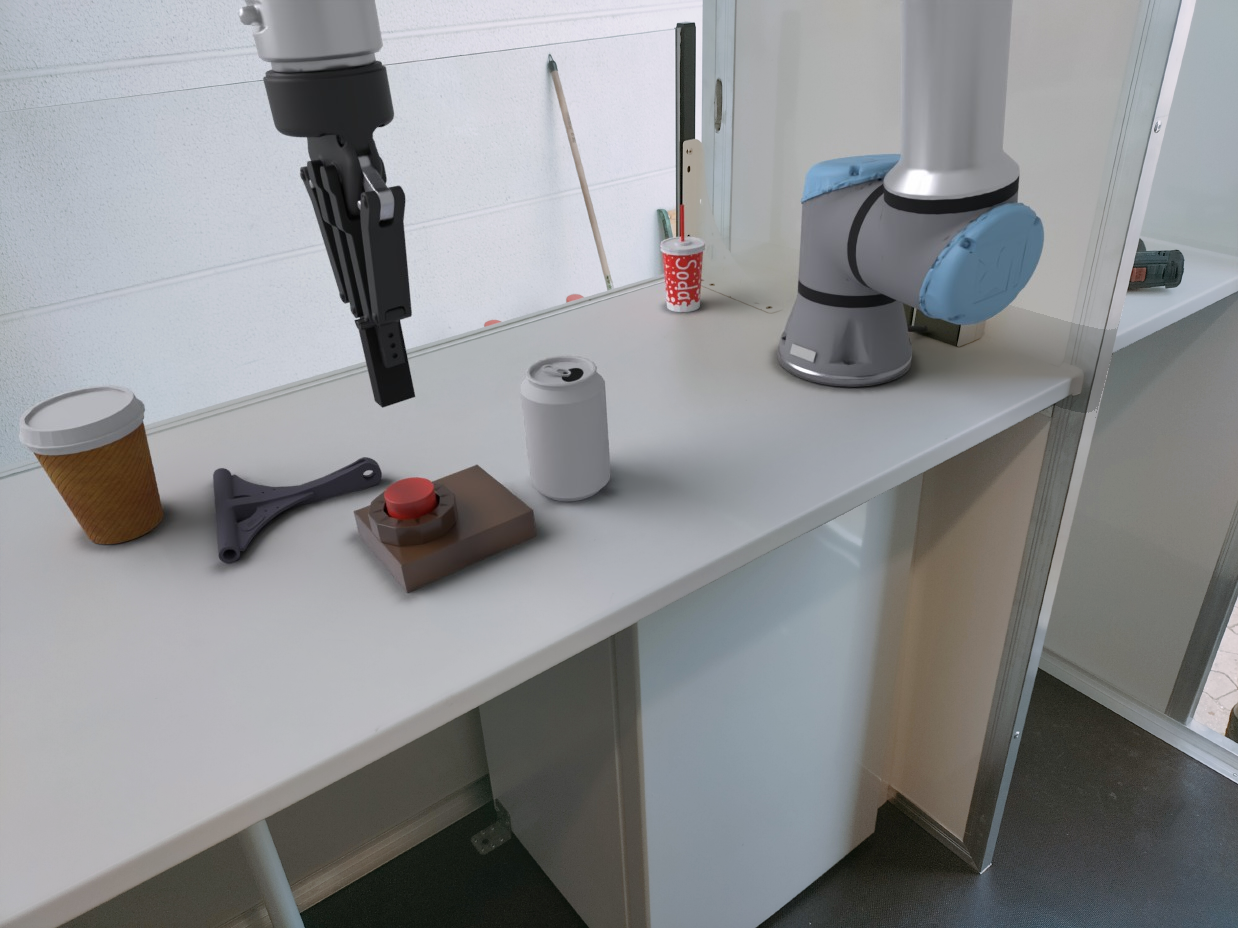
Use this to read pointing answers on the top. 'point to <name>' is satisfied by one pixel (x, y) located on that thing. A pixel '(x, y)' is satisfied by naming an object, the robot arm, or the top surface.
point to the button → (410, 498)
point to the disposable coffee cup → (97, 459)
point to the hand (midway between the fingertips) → (395, 398)
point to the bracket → (275, 501)
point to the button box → (447, 528)
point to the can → (566, 427)
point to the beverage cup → (683, 270)
